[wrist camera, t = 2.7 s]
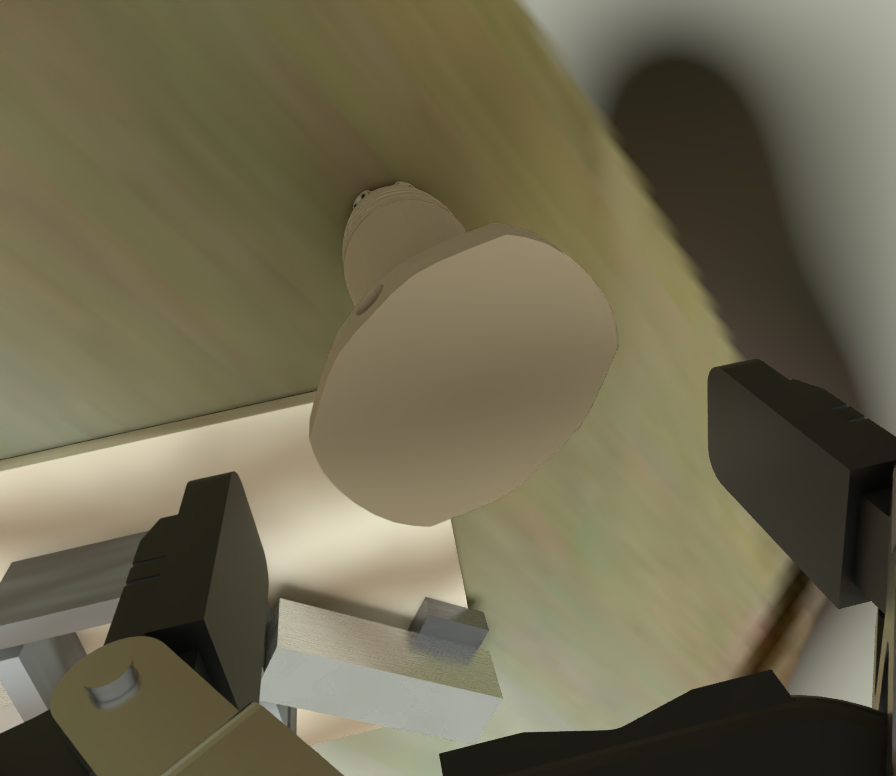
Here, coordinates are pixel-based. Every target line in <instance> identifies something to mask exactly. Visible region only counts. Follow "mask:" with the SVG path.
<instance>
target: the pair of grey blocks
mask: <svg viewBox="0 0 896 776" xmlns="http://www.w3.org/2000/svg"><path fill="white" fill-rule="evenodd" d="M488 631H489V629H488V626H487V623H486V619H485V616H484V613H483V612H480V611H476V610H472V609H469V608H465V607H461V606H458V605H454V604H450V603H447V602H443V601H439V600H436V599H432V598H428V597H425V599H424V600H423V602H422V604H421V606H420V608H419V610H418V611H417V613H416V615H415V617H414V619H413V621H412V622H411V624H410V626H409V628H408V630H404V629H400V628H396V627H392V626H388V625H384V624H381V623H377V622H373V621H369V620H365V619H361V618H357V617H353V616H349V615H345V614H341V613H337V612H333V611H329V610H325V609H321V608H317V607H313V606H309V605H305V604H302V603H298V602H294V601H290V600H286V599H282V598H280V599H279V601H278V603H277V605H276V607H275V609H274V611H273V614H272V616H271V618H270V620H269V622H268V629H267V643H266V657H265V671H264V675H263V677H262V679H261V687H260V699H259V700H260V701H265V702H270V703H275V704H280V705H284V706H289V707H294V708H299V709H304V710H309V711H313V712H318V713H323V714H328V715H333V716H338V717H342V718H347V719H352V720H357V721H362V722H367V723H372V724H376V725H381V726H386V727H391V728H396V729H401V730H405V731H410V732H415V733H420V734H425V735H430V736H434V737H439V738H444V739H449V740H454V741H459V742H463V743H468V744H473V745H474V744H475V743H476V741H477V740H478V738H479V736H480V735H481V733H482V732H483V730H484V728H485V727H486V725H487V724H488V722H489V720H490V719H491V717H492V716H493V714H494V712H495V711H496V709H497V707H498V706H499V704H500V703H501V701H502V699H503V697H502V693H501V690H500V687H499V683H498V680H497V676H496V673H495V670H494V666H493V663H492V659H491V656H490V653H489V651H487V650H483V649H479V646H480V645H481V643H482V641H483V640H484V638H485V636H486V634H487V633H488ZM263 679H264V680H263ZM266 687H267V688H266ZM263 690H264V691H263ZM266 691H267V692H266ZM270 694H271V695H270ZM270 696H271V697H270ZM23 722H24V721H23V719H22V718H21V716H20V714H19V713H18V711H17V709H16V707H15V706H14V704H13V702H12V701H11V699H10V697H9V695H8V694H7V692H6V690H5V689H4V687H3V685H2V684H1V682H0V733H2V732H4V731H6V730H9V729H11V728H13V727H15V726H17V725H19V724H21V723H23Z"/></svg>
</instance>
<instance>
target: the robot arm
mask: <svg viewBox="0 0 896 776" xmlns="http://www.w3.org/2000/svg"><path fill="white" fill-rule="evenodd" d="M708 451H709V457H710V461H711V465H712V468H713V470H714V473H715V475H716V477H717V478H718V480H719V482H720V483H721V484H722V485H723V486H724V487H725V488H726V489H727V491H728V492H729V493H730V494H731V495H732V496H733V497H734V498H735V499H736V500H737V501H738V502H739V503H740V504H741V505H742V507H743V508H744V509H745V510H746V511H747V512H748V513H749V514H750V515H751V516H752V517H753V518H754V519H755V520H756V522H757V523H758V524H759V525H760V526H761V527H762V528H763V529H764V530H765V531H766V532H767V533H768V534H769V535H770V537H771V538H772V539H773V540H774V541H775V542H776V543H777V544H778V545H779V546H780V547H781V548H782V549H783V550H784V552H785V553H786V554H787V555H788V556H789V557H790V558H791V559H792V560H793V561H794V562H795V563H796V564H797V565H798V566H799V568H800V569H801V570H802V571H803V572H804V573H805V574H806V575H807V576H808V577H809V578H810V579H811V580H812V581H813V583H814V584H815V585H816V586H817V587H818V588H819V589H820V590H821V591H822V592H823V593H824V594H825V595H826V596H827V598H828V599H829V600H830V601H831V602H832V603H833V604H834V605H835V606H836V607H837V608H838V609H841V608H845V607H849V606H852V605H856V604H861V603H865V602H869V601H872V602H873V603H874V604H875V605H876V606H877V607H878V609H877V618H876V627H875V651H874V674H873V696H872V708H870V707H866V706H863V705H859V704H856V703H851V702H848V701H844V700H838V699H832V698H826V697H819V696H806V695H790V694H789V693H788V691H787V690H786V689H785V687H784V686H783V685H782V683H781V682H780V680H779V679H778V678H777V676H776V675H775V674H774V672H773V671H772V670H767V671H763V672H759V673H755V674H751V675H748V676H744V677H740V678H736V679H732V680H728V681H724V682H720V683H716V684H712V685H708V686H704V687H700V688H696V689H692V690H690V691H688V692H687V693H685V694H683V695H681V696H679V697H677V698H675V699H674V700H672V701H670V702H668V703H666V704H664V705H662V706H661V707H659V708H657V709H655V710H653V711H651V712H649V713H647V714H646V715H644V716H642V717H640V718H638V719H636V720H634V721H633V722H631V723H629V724H627V725H625V726H623V727H621V728H618V729H614V730H598V731H560V732H523V733H519V734H515V735H511V736H507V737H503V738H499V739H495V740H491V741H487V742H483V743H479V744H475V745H472V746H468V747H464V748H460V749H456V750H452V751H448V752H444V753H440V754H439V756H440V762H441V767H442V773H443V776H896V437H895V436H894V435H892V434H891V433H889V432H888V431H886V430H885V429H883V428H882V427H880V426H879V425H877V424H876V423H874V422H873V421H871V420H870V419H865V418H864V415H862V414H861V413H860V412H858V411H856V410H855V409H854V408H852V407H850V406H849V407H847V406H846V403H844V402H843V401H842V400H840V399H838V398H837V397H836V396H834V395H832V394H831V393H829V392H828V391H827V390H825V389H823V388H820V387H817V386H814V385H810V384H808V383H805V382H801V381H799V380H795V379H792V380H789V379H788V378H786V377H785V376H783V375H782V374H780V373H779V372H778V371H776V370H775V369H773V368H772V367H770V366H769V365H768V364H766V363H765V362H763V361H762V360H760V359H750V360H746V361H741V362H736V363H732V364H727V365H723V366H718V367H714V368H712V369H711V371H710V373H709V376H708ZM132 564H133V567H131V568H130V571H129V574H128V577H127V580H126V586H124V588H123V591H122V594H121V597H120V600H119V602H118V605H117V608H116V611H115V614H114V617H113V620H112V622H111V625H110V628H109V631H108V634H107V637H106V640H105V642H104V645H103V646H102V647H100V648H98V649H96V650H95V651H93V652H91V653H89V654H88V655H86V656H85V657H84V658H82V659H81V660H79V661H78V662H77V663H76V664H75V665H74V666H72V667H71V668H70V669H69V670H68V671H67V672H66V673H65V675H64V676H63V677H62V678H61V680H60V681H59V682H58V684H57V686H56V687H55V689H54V691H53V694H52V697H51V701H50V709H49V710H47V711H45V712H44V713H42V714H40V715H38V716H36V717H34V718H32V719H30V720H28V721H26V722H23V723H21V724H19V725H17V726H15V727H13V728H11V729H9V730H6V731H4V732H2V733H0V776H344V775H343V774H341V773H340V772H339V771H338V770H337V769H336V768H334V767H333V766H332V765H331V764H330V763H329V762H327V761H326V760H325V759H324V758H323V757H322V756H321V755H319V754H318V753H317V752H316V751H315V750H314V749H312V748H311V747H310V746H309V745H308V744H307V743H305V742H304V741H303V740H302V739H301V738H300V737H298V736H297V735H296V734H295V733H294V732H293V731H291V730H290V729H289V728H288V727H287V726H286V725H285V724H283V723H282V722H281V721H280V720H279V719H278V718H276V717H275V716H274V715H273V714H272V713H271V712H269V711H268V710H267V709H266V708H265V707H263V706H262V705H260V704H259V699H260V687H261V675H262V662H263V650H264V638H265V626H266V614H267V602H268V590H269V578H268V568H267V562H266V557H265V553H264V549H263V546H262V543H261V540H260V537H259V534H258V531H257V528H256V524H255V521H254V518H253V515H252V512H251V509H250V506H249V503H248V500H247V497H246V494H245V491H244V488H243V485H242V482H241V480H240V477H239V475H238V474H237V473H236V472H235V471H233V472H228V473H223V474H219V475H214V476H210V477H205V478H200V479H196V480H191V481H189V482H188V483H187V485H186V488H185V492H184V495H183V499H182V502H181V506H180V509H179V513H178V514H177V515H173V516H168V517H164V518H160V519H159V520H158V521H157V523H156V524H155V525H154V526H153V527H152V528H151V529H150V530H149V531H148V533H147V534H146V535H145V536H144V537H143V538H142V539H141V540H140V543H139V545H138V548H137V551H136V554H135V557H134V560H133V563H132Z"/></svg>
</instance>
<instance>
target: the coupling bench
mask: <svg viewBox="0 0 896 776" xmlns="http://www.w3.org/2000/svg"><path fill="white" fill-rule="evenodd" d="M316 392H317V391H314V392H310V393H305V394H301V395H296V396H291V397H287V398H282V399H278V400H273V401H269V402H264V403H260V404H255V405H250V406H246V407H241V408H237V409H232V410H228V411H223V412H219V413H214V414H209V415H205V416H200V417H196V418H191V419H187V420H182V421H178V422H173V423H168V424H164V425H159V426H155V427H150V428H146V429H141V430H137V431H132V432H127V433H123V434H118V435H114V436H109V437H105V438H100V439H96V440H91V441H86V442H82V443H77V444H73V445H68V446H64V447H59V448H55V449H50V450H45V451H41V452H36V453H32V454H27V455H23V456H18V457H14V458H9V459H4V460H0V682H1V684H2V685H3V687H4V689H5V690H6V692H7V694H8V695H9V697H10V699H11V701H12V702H13V704H14V706H15V707H16V709H17V711H18V713H19V714H20V716H21V718H22V719H23V721H24V722H26V721H28V720H30V719H32V718H34V717H36V716H38V715H40V714H42V713H44V712H45V711H47V710H49V709H50V701H51V697H52V694H53V691H54V689H55V687H56V686H57V684H58V682H59V681H60V680H61V678H62V677H63V676H64V675H65V673H66V672H67V671H68V670H69V669H70V668H71V667H72V666H74V665H75V664H76V663H77V662H78V661H79V660H81V659H82V658H84V657H85V656H86V655H88V654H89V653H91V652H93V651H95V650H96V649H98V648H100V647H102V646H103V645H104V642H105V640H106V637H107V634H108V631H109V628H110V625H111V622H112V620H113V617H114V614H115V611H116V608H117V605H118V602H119V600H120V597H121V594H122V591H123V588H124V586H126V580H127V577H128V574H129V571H130V568H131V567H133V564H132V563H133V560H134V557H135V554H136V551H137V548H138V545H139V543H140V540H141V539H142V538H143V537H144V536H145V535H146V534H147V533H148V531H149V530H150V529H151V528H152V527H153V526H154V525H155V524H156V523H157V521H158V520H159V519H160V518H164V517H168V516H173V515H177V514H178V513H179V509H180V506H181V502H182V499H183V495H184V492H185V488H186V485H187V483H188V482H189V481H191V480H196V479H200V478H205V477H210V476H214V475H219V474H223V473H228V472H233V471H235V472H236V473H237V474H238V475H239V477H240V480H241V482H242V485H243V488H244V491H245V494H246V497H247V500H248V503H249V506H250V509H251V512H252V515H253V518H254V521H255V524H256V528H257V531H258V534H259V537H260V540H261V543H262V546H263V549H264V553H265V557H266V562H267V568H268V578H269V590H268V602H267V614H266V626H265V638H264V650H263V662H262V675H261V679H262V677H263V675H264V671H265V657H266V643H267V629H268V622H269V620H270V618H271V616H272V614H273V611H274V609H275V607H276V605H277V603H278V601H279V599H280V598H282V599H286V600H290V601H294V602H298V603H302V604H305V605H309V606H313V607H317V608H321V609H325V610H329V611H333V612H337V613H341V614H345V615H349V616H353V617H357V618H361V619H365V620H369V621H373V622H377V623H381V624H384V625H388V626H392V627H396V628H400V629H404V630H408V628H409V626H410V624H411V622H412V621H413V619H414V617H415V615H416V613H417V611H418V610H419V608H420V606H421V604H422V602H423V600H424V599H425V597H428V598H432V599H436V600H439V601H443V602H447V603H450V604H454V605H458V606H461V607H465V608H468V605H467V600H466V595H465V590H464V585H463V580H462V575H461V570H460V565H459V560H458V555H457V550H456V545H455V540H454V534H453V529H452V524H451V519H449V520H447V521H444V522H442V523H439V524H437V525H434V526H431V527H423V526H411V525H405V524H400V523H394V522H392V521H389V520H387V519H384V518H382V517H379V516H376V515H374V514H372V513H371V512H369V511H367V510H366V509H364V508H362V507H360V506H359V505H357V504H355V503H354V502H353V501H351V500H350V499H349V498H348V497H347V496H345V495H344V494H343V493H342V492H341V491H339V490H338V489H337V488H336V487H335V486H334V484H333V483H332V482H331V481H330V480H329V479H328V477H327V476H326V475H325V474H324V473H323V471H322V469H321V467H320V465H319V463H318V461H317V459H316V457H315V455H314V452H313V449H312V446H311V443H310V440H309V420H310V415H311V411H312V407H313V403H314V399H315V395H316ZM263 680H264V679H263ZM266 688H267V687H266ZM263 691H264V690H263ZM266 692H267V691H266ZM270 695H271V694H270ZM270 697H271V696H270ZM259 704H260V705H262V706H263V707H265V708H266V709H267V710H268V711H269V712H271V713H272V714H273V715H274V716H275V717H276V718H278V719H279V720H280V721H281V722H282V723H283V724H285V725H286V726H287V727H288V728H289V729H290V730H291V731H293V732H294V733H295V734H296V735H297V736H298V737H300V738H301V739H302V740H303V741H304V742H305V743H307V744H308V745H309V746H311V745H315V744H319V743H323V742H326V741H330V740H334V739H338V738H342V737H346V736H350V735H354V734H358V733H361V732H365V731H369V730H373V729H377V728H381V727H385V726H381V725H376V724H372V723H367V722H362V721H357V720H352V719H347V718H342V717H338V716H333V715H328V714H323V713H318V712H313V711H309V710H304V709H299V708H294V707H289V706H284V705H280V704H275V703H270V702H265V701H260V700H259Z"/></svg>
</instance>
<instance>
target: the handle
mask: <svg viewBox="0 0 896 776" xmlns="http://www.w3.org/2000/svg"><path fill="white" fill-rule="evenodd" d="M342 261H343V269H344V276H345V282H346V285H347V288H348V291H349V294H350V296H351V299H352V301H353V304H354V306H355V308H354V309H353V310H352V312H351V313H350V315H349V316H348V318H347V319H346V320H345V322H344V323H343V325H342V326H341V327H340V329H339V330H338V332H337V334H336V336H335V339H334V342H333V344H332V347H331V349H330V352H329V355H328V357H327V360H326V363H325V366H324V369H323V372H322V375H321V378H320V382H319V385H318V389H317V392H316V395H315V399H314V403H313V407H312V411H311V415H310V420H309V440H310V443H311V446H312V449H313V452H314V455H315V457H316V459H317V461H318V463H319V465H320V467H321V469H322V471H323V473H324V474H325V475H326V476H327V477H328V479H329V480H330V481H331V482H332V483H333V484H334V486H335V487H336V488H337V489H338V490H339V491H341V492H342V493H343V494H344V495H345V496H347V497H348V498H349V499H350V500H351V501H353V502H354V503H355V504H357V505H359V506H360V507H362V508H364V509H366V510H367V511H369V512H371V513H372V514H374V515H376V516H379V517H382V518H384V519H387V520H389V521H392V522H394V523H400V524H405V525H411V526H423V527H431V526H434V525H437V524H439V523H442V522H444V521H447V520H449V519H452V518H454V517H457V516H460V515H462V514H465V513H467V512H470V511H472V510H474V509H477V508H479V507H482V506H484V505H486V504H489V503H491V502H493V501H495V500H497V499H498V498H500V497H502V496H504V495H506V494H508V493H510V492H511V491H513V490H514V489H515V488H516V487H518V486H519V485H520V484H521V483H523V482H524V481H525V480H527V479H528V478H529V477H530V476H531V475H532V474H533V473H534V472H535V471H537V470H538V469H539V468H540V467H541V466H542V465H543V464H544V463H545V462H546V461H547V460H548V459H549V458H550V457H551V456H552V455H553V454H555V453H556V452H557V451H558V450H559V449H560V448H561V447H562V446H563V445H564V444H565V443H566V442H567V441H568V440H569V438H570V437H571V436H572V435H573V434H574V433H575V432H576V431H577V429H578V428H579V427H580V426H581V424H582V422H583V421H584V419H585V417H586V416H587V414H588V412H589V411H590V409H591V407H592V405H593V403H594V401H595V399H596V397H597V395H598V392H599V390H600V388H601V386H602V384H603V382H604V379H605V377H606V375H607V372H608V370H609V368H610V365H611V363H612V361H613V358H614V356H615V354H616V351H617V349H618V347H619V344H618V335H617V328H616V324H615V320H614V316H613V312H612V309H611V308H610V306H609V304H608V302H607V300H606V298H605V296H604V295H603V293H602V291H601V290H600V288H599V287H598V286H597V285H596V283H595V282H594V281H593V280H592V279H591V277H590V276H589V275H588V274H587V272H586V271H584V270H583V269H582V268H581V267H580V266H579V265H577V264H576V263H575V262H574V261H573V260H572V259H571V258H569V257H568V256H567V255H566V254H565V253H563V252H562V251H561V250H560V249H559V248H557V247H556V246H555V245H553V244H552V243H550V242H548V241H547V240H545V239H543V238H541V237H540V236H538V235H536V234H535V233H533V232H530V231H527V230H524V229H521V228H517V227H514V226H510V225H503V224H497V223H491V224H488V225H485V226H482V227H479V228H476V229H474V230H471V231H468V232H466V231H465V229H464V227H463V226H462V225H461V223H460V222H459V220H458V219H457V218H456V217H455V216H454V215H453V213H452V212H451V211H450V210H449V209H448V208H447V207H446V206H445V205H444V204H442V203H441V202H440V201H439V200H437V199H436V198H434V197H433V196H431V195H429V194H428V193H426V192H424V191H421V190H419V189H416V188H414V186H413V185H411V184H409V183H406V182H402V181H397V182H396V183H395V184H394V185H392V186H386V187H382V188H378V189H376V190H374V191H369V190H365V191H363V192H362V193H361V194H359V195H358V197H357V198H356V199H355V201H354V203H353V211H352V213H351V215H350V217H349V219H348V222H347V225H346V228H345V232H344V238H343V247H342Z"/></svg>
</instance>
